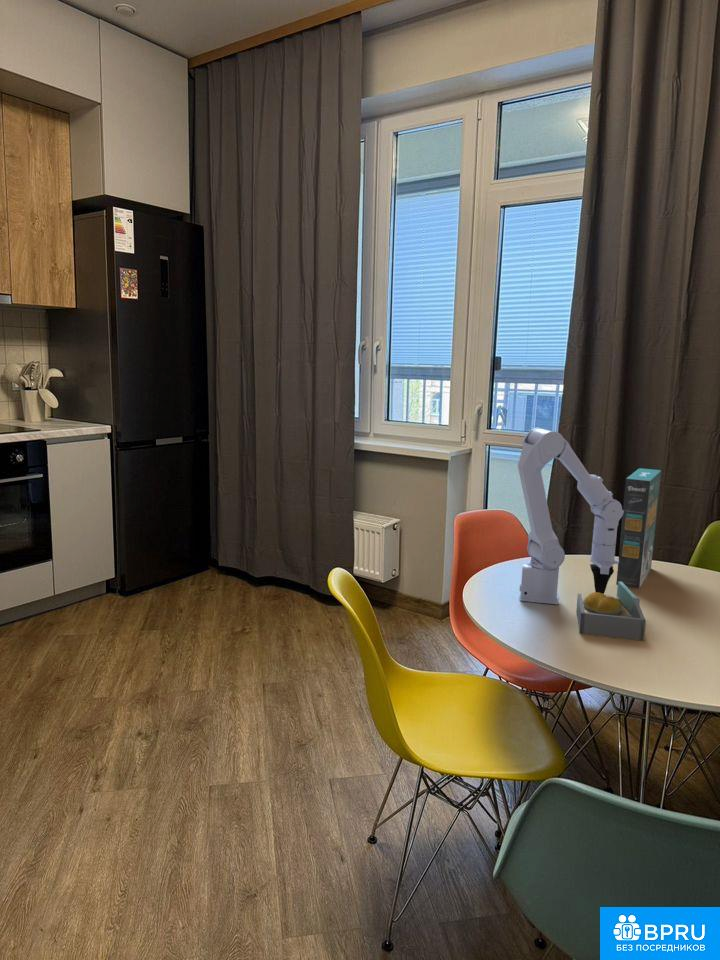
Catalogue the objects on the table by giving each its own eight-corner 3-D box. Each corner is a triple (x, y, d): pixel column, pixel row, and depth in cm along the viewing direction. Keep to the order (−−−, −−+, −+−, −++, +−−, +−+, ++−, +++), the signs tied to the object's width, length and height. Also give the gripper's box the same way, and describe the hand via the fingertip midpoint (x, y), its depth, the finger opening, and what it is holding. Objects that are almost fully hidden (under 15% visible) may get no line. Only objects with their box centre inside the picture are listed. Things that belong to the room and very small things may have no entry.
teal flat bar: (639, 616, 163) (641, 599, 163) (632, 616, 164) (634, 598, 163) (621, 596, 177) (623, 580, 176) (615, 596, 177) (617, 580, 177)
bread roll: (611, 619, 163) (612, 603, 163) (578, 608, 170) (579, 593, 169) (628, 611, 169) (629, 596, 168) (595, 601, 175) (596, 586, 175)
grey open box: (579, 633, 154) (581, 613, 153) (575, 608, 169) (577, 590, 168) (649, 641, 150) (651, 620, 149) (639, 615, 165) (641, 597, 164)
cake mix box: (629, 565, 207) (639, 468, 202) (651, 568, 204) (661, 470, 198) (616, 584, 188) (626, 478, 183) (639, 588, 185) (650, 480, 180)
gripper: (623, 551, 168) (618, 603, 170) (617, 537, 182) (612, 585, 184) (593, 549, 170) (589, 600, 172) (589, 534, 183) (585, 582, 186)
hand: (599, 592), depth 178 cm, fingers closed
